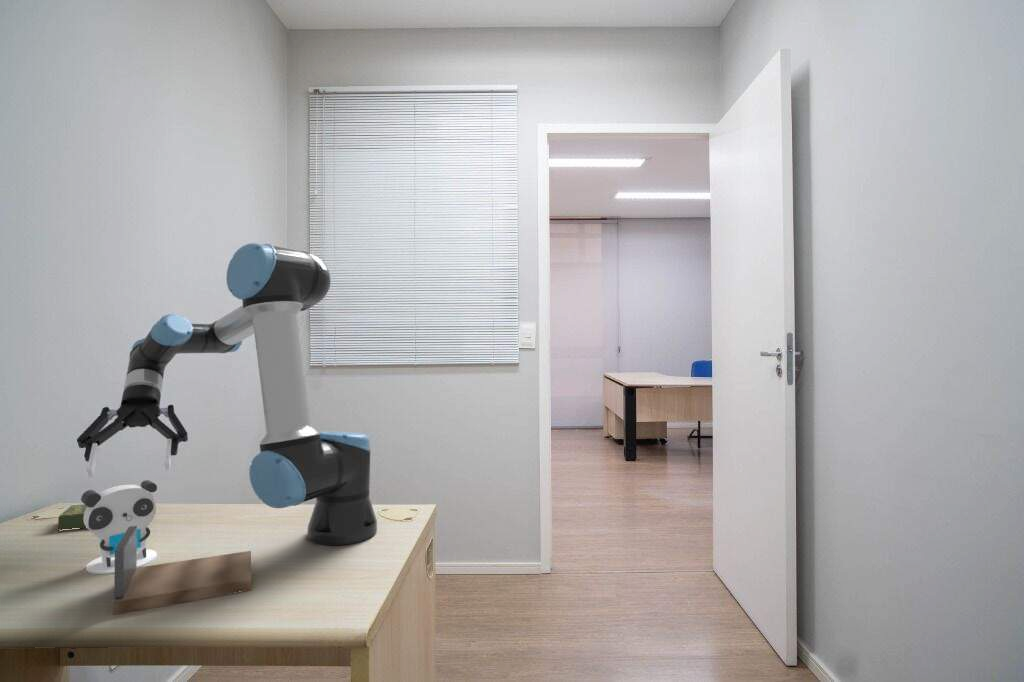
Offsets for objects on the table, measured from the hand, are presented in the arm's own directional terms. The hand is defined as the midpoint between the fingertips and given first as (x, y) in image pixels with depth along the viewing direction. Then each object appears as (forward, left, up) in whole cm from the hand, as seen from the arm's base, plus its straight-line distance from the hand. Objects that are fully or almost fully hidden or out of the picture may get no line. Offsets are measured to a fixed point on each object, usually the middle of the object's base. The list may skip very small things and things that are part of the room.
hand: (129, 470), depth 116 cm
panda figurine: (0, +10, -16) cm, 19 cm away
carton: (+8, -20, -17) cm, 27 cm away
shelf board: (-13, +27, -16) cm, 34 cm away
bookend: (-4, +27, -14) cm, 31 cm away
